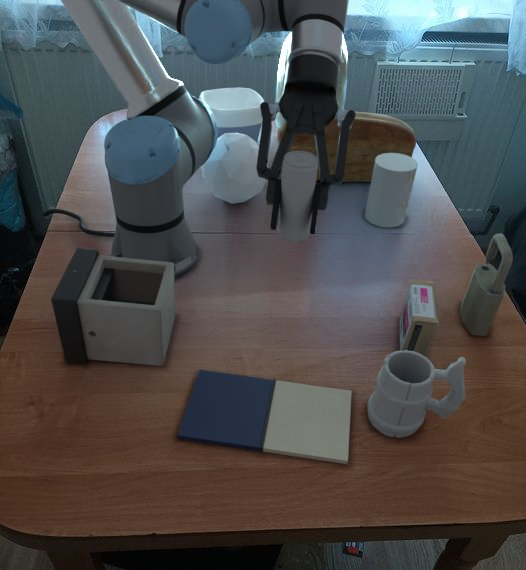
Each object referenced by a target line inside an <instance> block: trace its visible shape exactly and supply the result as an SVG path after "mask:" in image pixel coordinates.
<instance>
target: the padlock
mask: <svg viewBox="0 0 526 570" xmlns="http://www.w3.org/2000/svg"><path fill="white" fill-rule="evenodd" d="M498 251H499V252H500V254H501V255H500V256H501V260H500V261H501V262H500V265H499V266H498V269H496V267H494V266H493V265H492V264H490V263H491V262H492V261H493V260H494V259H495V258H496V256H497V254H498ZM512 251H513V250H512V248H511V246H510V245H509V243H508V240H507V237H506V236H505V235H504V234H503V233H496V234H494V235H493V237H492V238H491V240H490V243H489V245H488V248H487V251H486V253H485V262H486V263H476V265H475V267H474V269H473V272H472V275H471V278H470V280H469V283H468V285H467V288H466V291H465V294H464V296H463V298H462V302H461V306H460V309H459V313H460V317H461V321H462V324H463V326H464V327H465V328H466V329H467V331H468V332H469V333H470V335H471V336H482V337H483V336H484V337H487V335H488V333H489V331H490V329H491V326H492V325H493V323H494V320H495V318H496V316H497V313H498V311H499V308H500V306H501V303H502V301H503V299H504V297H505V292H506V284H505V281H506V278H507V276H508V273H509V272H510V269H511V267H512V264H513V261H514V259H513V257H514V254H513V252H512Z"/></svg>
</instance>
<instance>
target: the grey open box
mask: <svg viewBox="0 0 526 570" xmlns="http://www.w3.org/2000/svg"><path fill="white" fill-rule="evenodd" d="M175 289H176V288H175V278H174V263H172V262H162V261H152V260H142V259H132V258H122V257H112V255H111V256H110V255H101V254H100V253H99V250H98V249H94V248H85V247H76V249H75V251H74V253H73V255H72V257H71V259H70V261H69V263H68V264H67V267H66V268H65V271H64V272H63V275H62V276H61V278H60V280H59V281H58V284H57V286H56V288H55V290H54V292H53V294H52V296H51V297H50V300H51V301H50V302H51V304H52V310H53V314H54V318H55V323H56V326H57V332H58V335H59V341H60V343H61V349H62V353H63V358H64V361H65V363H66V364H67V363H69V364H78V365H79V364H80V365H87V364H88V363H89V360H91V361H102V362H112V363H122V364H123V363H124V364H134V365H135V364H136V365H144V366H145V365H146V366H154V367H155V366H157V367H164V364H165V361H166V358H167V353H168V350H169V349H168V348H169V344H170V342H171V341H170V340H171V337H172V332H173V328H174V327H173V326H174V324H175V320H176V295H175V293H176V292H175Z"/></svg>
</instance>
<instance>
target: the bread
mask: <svg viewBox="0 0 526 570" xmlns="http://www.w3.org/2000/svg"><path fill="white" fill-rule="evenodd" d="M344 110H345V111H347V112H348V111H350V110H347V109H344ZM353 111H354V112H355V114H356V115H355V120H354V124H353V126H352V128H351V130H350V132H349V137H348V146H347V154H346V162H345V171H344V178H343V182H344V183H345V182H347V183H348V182H349V183H350V182H370V183H371V180H372V175H373V169H374V164H375V159H376V157H377V156H378V155H381V154H384V153H399V154H403V155H407V156H409V157H411V158H413V155H414V150H415V148H416V145H417V136H416V133H415V130H414V129H412V127H411V126H410V125H409V124H408V123H406V122H405V121H403V120H402V119H398V118H396V117H393V116H390V115H387V114H382V113H375V112H367V111H358V110H353ZM286 125H287V123H286V122H284V123H283V124H282V125H281V126H280V127H279V129H278V128H277V147H279V145H280V142H281V140H282V137H283V134H284V132H285V128H286ZM340 130H341V128H340V127H338V119H337V118H336V117H335V118H334V119H333V120H332V121H331V122H330V123H329V124H328V126H327V127H326V128H325V140H326V148H327V156H328V164H329V172H330V175H332V174H335V168H336V160H337V152H338V143H339V136H340ZM292 151H305V152H309V153H312V154H314V155H315V156H316V157H317V150H316V143H315V136H314V135H310V134H307V133H302V134H297V133H296V136H295V139H294V140H293V142H292V145H291V147H290V150H289V152H292ZM317 163H318V162H317ZM280 174H282V171H281V173H280ZM316 181H320V175H319V167H318V170H317V178H316ZM343 182H342V183H343Z"/></svg>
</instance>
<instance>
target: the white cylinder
mask: <svg viewBox="0 0 526 570" xmlns="http://www.w3.org/2000/svg"><path fill="white" fill-rule="evenodd" d="M418 165H419V164H418V161H417V160H416V159H414V158H413V157H412V158H411V157H409V156H407V155H403V154H399V153H384V154H381V155H378V156H377V157H376V159H375V164H374V169H373V175H372V180H371V182H370V186H369V191H368V196H367V203H366V207H365V212H364V217H365V220H367V221H368V223H370V224H372V225H374V226H377V227H381V228H396V227H400V226H401V225H402V224H404V222H405V219H406V215H407V210H408V207H409V202H410V198H411V194H412V189H413V186H414V181H415V177H416V173H417V169H418Z"/></svg>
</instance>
